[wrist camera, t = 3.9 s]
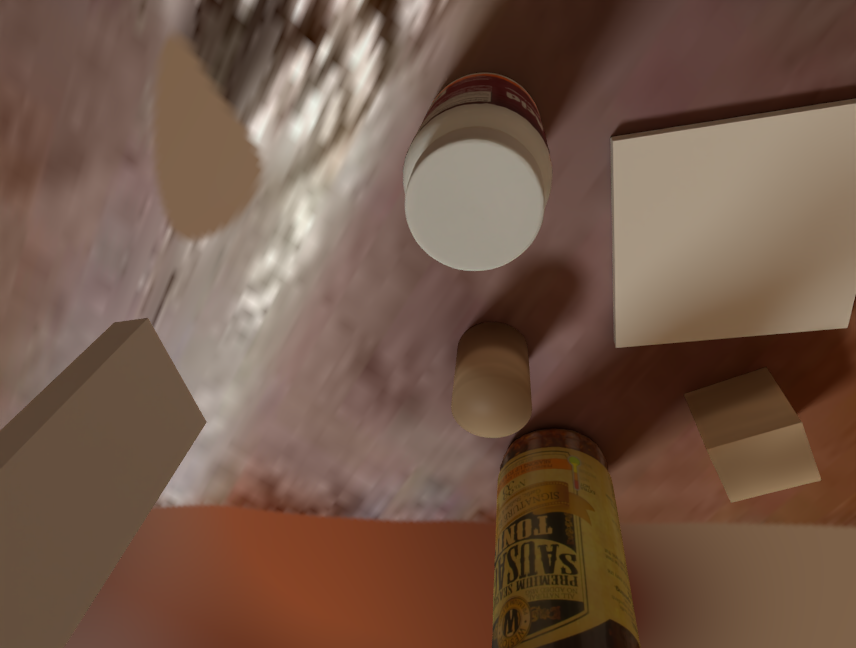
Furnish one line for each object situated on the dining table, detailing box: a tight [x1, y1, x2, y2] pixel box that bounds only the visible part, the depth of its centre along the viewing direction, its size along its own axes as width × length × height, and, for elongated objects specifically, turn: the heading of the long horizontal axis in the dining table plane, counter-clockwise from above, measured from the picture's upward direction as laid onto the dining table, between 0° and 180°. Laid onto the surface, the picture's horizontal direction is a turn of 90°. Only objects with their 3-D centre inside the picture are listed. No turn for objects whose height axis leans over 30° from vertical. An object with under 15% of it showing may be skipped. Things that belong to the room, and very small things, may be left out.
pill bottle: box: [403, 72, 552, 271], centre depth 19 cm, size 5×5×8 cm
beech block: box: [684, 367, 821, 502], centre depth 27 cm, size 4×4×4 cm
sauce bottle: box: [492, 429, 640, 648], centre depth 24 cm, size 6×6×20 cm
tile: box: [610, 98, 856, 348], centre depth 24 cm, size 10×10×1 cm
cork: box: [451, 322, 532, 438], centre depth 27 cm, size 4×4×4 cm
